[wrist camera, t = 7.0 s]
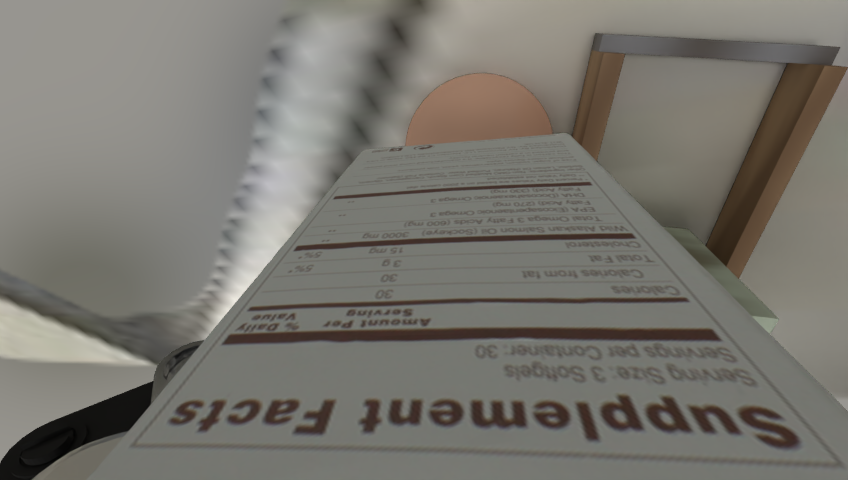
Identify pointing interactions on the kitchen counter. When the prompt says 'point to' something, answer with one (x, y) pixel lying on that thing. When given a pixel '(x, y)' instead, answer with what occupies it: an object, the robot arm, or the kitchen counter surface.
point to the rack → (766, 159)
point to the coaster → (477, 112)
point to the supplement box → (485, 342)
